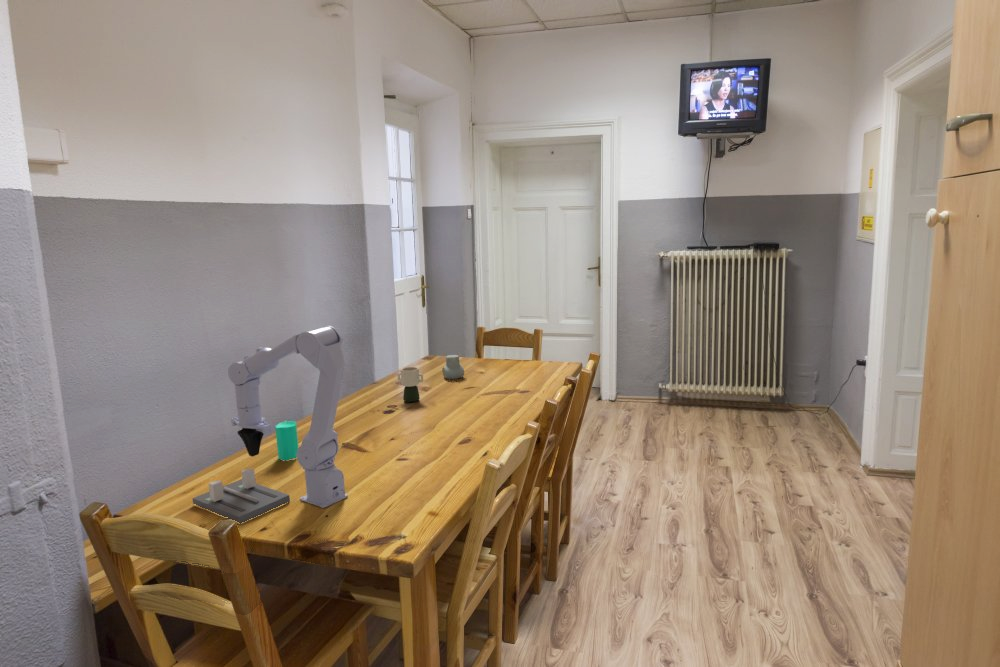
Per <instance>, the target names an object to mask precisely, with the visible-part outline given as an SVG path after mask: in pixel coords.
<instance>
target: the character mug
mask: <svg viewBox="0 0 1000 667" xmlns="http://www.w3.org/2000/svg"><path fill="white" fill-rule="evenodd" d="M397 381H398V382H401V386H403V387H404V389H403V401H404V402H406V403H411V402H412V403H413V402H417V401H419V400H420V392H419V387H418V386H419V384H420V383H423V382H424V374H423V373H420V368H419V367H417V366H406V367H402V368H401V369H400V372H398V373H397Z"/></svg>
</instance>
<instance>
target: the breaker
mask: <svg viewBox="0 0 1000 667" xmlns="http://www.w3.org/2000/svg"><path fill="white" fill-rule="evenodd" d="M241 479H242V481H243V487H244V488H247V489H248V488H251V487H253V486H256V484H257V482H256V474H255V469H254V468H251V467H249V468H246V469H243V470H241Z"/></svg>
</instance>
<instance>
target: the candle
mask: <svg viewBox="0 0 1000 667" xmlns="http://www.w3.org/2000/svg"><path fill="white" fill-rule="evenodd" d="M284 420H285V421H282V422H279V423H278V424H276V425H274V428H275V437H276V447H277V459H278V458H279V459H282V460H289V459H293V458H296V457H297V450H298V449H299V447H300V446H299V439H298V438H299V436H298V429H297V428H298V427H297V422H296V421H294V420H291V421H290V420H289V421H287V420H286V419H284ZM279 459H278V460H279Z"/></svg>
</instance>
